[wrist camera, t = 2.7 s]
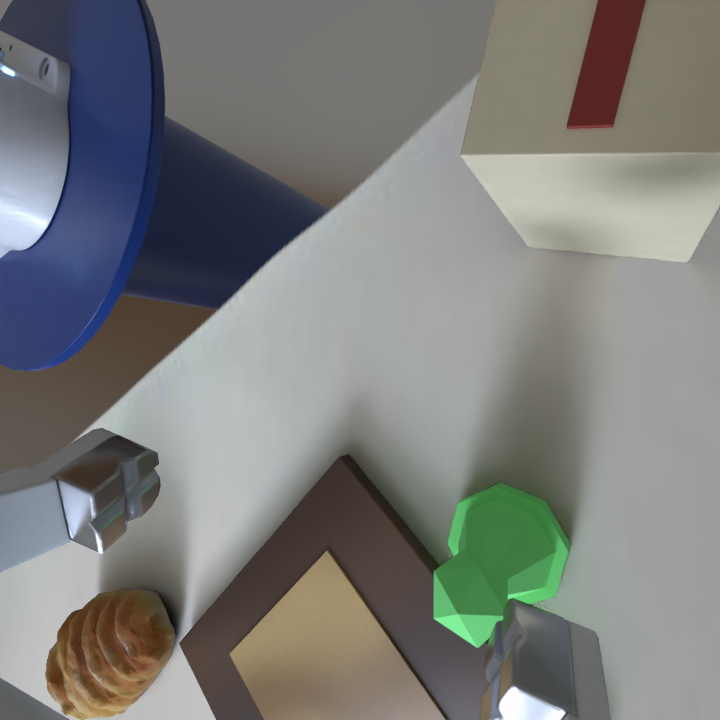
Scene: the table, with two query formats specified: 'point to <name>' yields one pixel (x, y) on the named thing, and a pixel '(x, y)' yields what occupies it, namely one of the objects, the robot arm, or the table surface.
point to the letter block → (601, 124)
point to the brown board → (336, 621)
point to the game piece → (497, 560)
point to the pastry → (109, 653)
